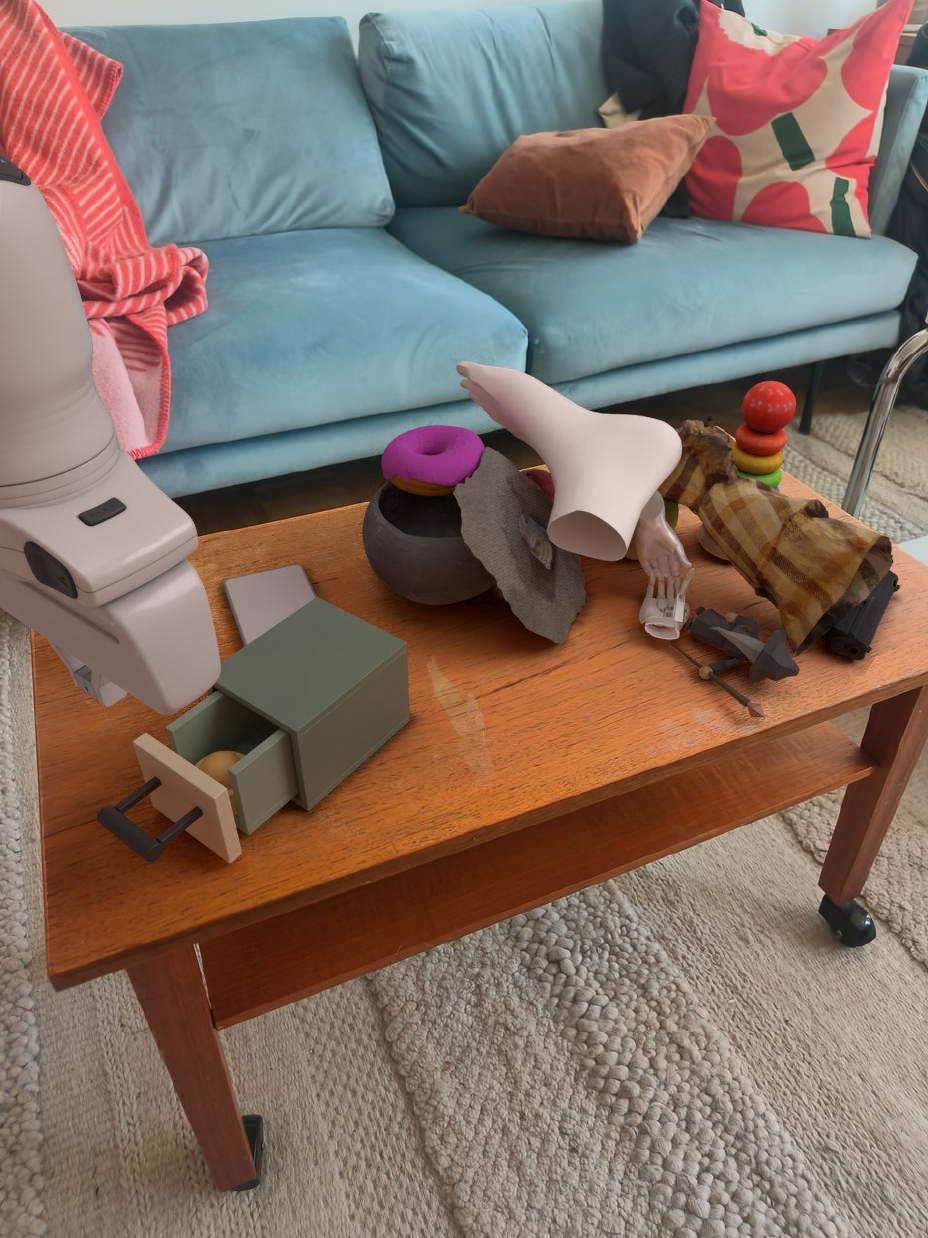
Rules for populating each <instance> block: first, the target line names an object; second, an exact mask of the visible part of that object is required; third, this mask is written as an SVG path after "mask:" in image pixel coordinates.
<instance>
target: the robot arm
mask: <svg viewBox="0 0 928 1238" xmlns="http://www.w3.org/2000/svg"><path fill="white" fill-rule="evenodd" d="M93 361H94V343H93V337H92V332H91V329H90V325H89V322H88V318H87V314H86V310H85V306H84V303H83V300H82V295H81V293H80V289H79V286H78V282H77V279H76V276H75V273H74V269H73V266H72V263H71V261H70V257H69V254H68V251H67V249H66V247H65V243H64V240H63V238H62V235H61V232H60V230H59V228H58V225H57V222H56V220H55V218H54V216H53V214H52V212H51V210H50V207H49V205H48V204H47V202H46V199H45V197H44V196H43V194H42V192H41V190H40V189H39V188H38V186H37V185H36V183H34V182H33V180H32V179H31V178H30V176H28V174H26V172H24V171H23V170H22V169H21V168H19V167H18V166H17V165H16V164H15V163H14V162H13V161H11V160H10V159H8V158H6V157H5V156H4V155H2V154H0V609H1V610H3V611H4V612H6V613H7V614H9V615H10V616H11V617H13V618H15V619H16V620H18V621H19V622H21V623H22V624H24V625H25V626H27V627H28V628H29V629H31V630H33V631H34V632H35V633H37V634H38V635H40V636H42V637H43V638H45V639H46V641H47V642H48V644H49V645H50V646H51V648H52V649H53V650H54V652H55V654H57V656H58V657H59V658H60V660H61V662H62V663H63V664H64V665H65V667H66V668H67V669H68V672H69V674H70V677H71V680H72V683H73V685H74V686H75V687H76V688H77V689H79V690H80V691H82V692H83V693H85V694H86V695H88V696H90V697H91V698H93V699H94V700H95V701H97V702H98V703H99V704H100V705H102V706H103V707H105V708H111V707H112V706H113V705H115V704H116V703H118V702H119V701H121V700H123V699H124V698H125V697H126V696H127V695H130V696H132V697H133V698H134V699H136V700H138V701H139V702H141V703H142V704H143V705H145V706H146V707H148V708H150V709H151V710H152V711H154V712H155V713H157V714H158V715H160V716H163V717H170V716H173V715H175V714H177V713H179V712H180V711H181V710H183V709H184V708H186V707H187V706H190V705H191V704H192V703H194V702H195V701H196V700H198V699H199V698H200V697H202V696H203V695H204V694H206V693H208V690H209V689H210V688H211V687H212V686H213V685H214V684H215V683H216V681H217V680H218V678H219V676H220V672H221V656H220V655H221V654H220V649H219V643H218V638H217V632H216V628H215V622H214V618H213V613H212V609H211V605H210V601H209V597H208V594H207V591H206V589H205V586H204V584H203V581H202V579H201V576H200V575H199V573H198V571H197V570H196V568H195V567H194V566H193V564H192V563H191V562H190V561H189V559H188V557H189V556H191V555H192V554H194V553H195V552H197V550H199V546H200V545H199V544H200V543H199V536H198V531H197V527H196V524H195V522H194V520H193V519H192V517H191V516H190V515H189V514H188V513H187V512H186V511H185V510H184V509H183V508H182V507H181V506H179V505H178V504H177V503H176V502H175V501H174V500H172V499H171V498H170V497H169V496H168V495H167V494H166V493H164V492H163V491H162V490H161V489H160V488H159V487H158V486H157V485H156V484H155V483H154V482H153V481H152V480H151V479H150V478H149V477H148V476H147V474H145V472H144V471H143V470H142V469H141V467H140V466H139V465H138V463H136V461H135V460H134V458H133V457H132V455H131V454H130V453H129V452H128V451H126V449H121V448H120V444H119V439H118V435H117V431H116V427H115V423H114V419H113V417H112V415H111V413H110V411H109V408H108V407H107V406H106V404H105V402H104V401H103V399H102V397H101V395H100V394H99V392H98V390H97V386H96V383H95V378H94V373H93Z"/></svg>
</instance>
